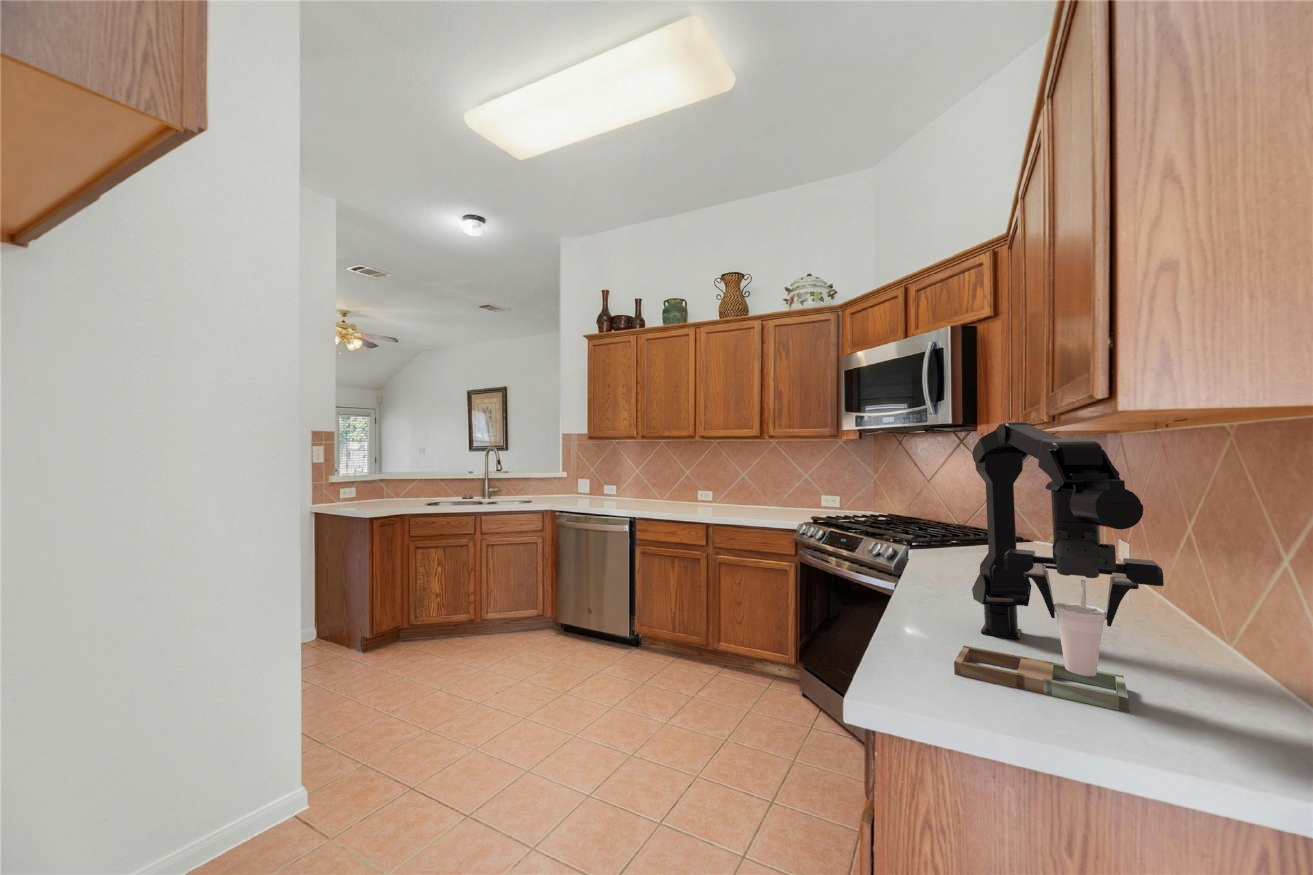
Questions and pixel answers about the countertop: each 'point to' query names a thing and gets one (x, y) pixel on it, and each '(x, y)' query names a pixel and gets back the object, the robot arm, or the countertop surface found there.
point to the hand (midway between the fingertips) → (1080, 621)
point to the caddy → (1042, 677)
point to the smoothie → (1080, 634)
